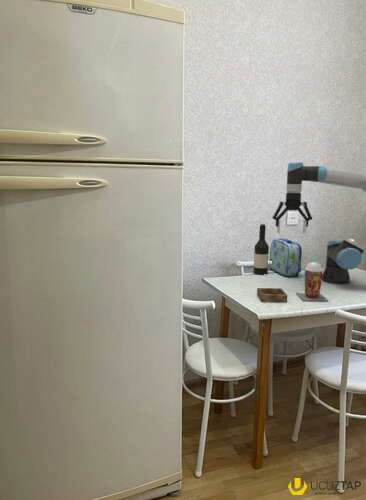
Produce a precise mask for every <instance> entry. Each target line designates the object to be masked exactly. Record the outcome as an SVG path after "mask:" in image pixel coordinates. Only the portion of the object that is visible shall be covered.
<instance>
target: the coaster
mask: <svg viewBox="0 0 366 500" xmlns="http://www.w3.org/2000/svg"><path fill="white" fill-rule="evenodd" d="M295 294H296V296H298V298H299V299H300V300H301V301H302V302H307V303H309V302H310V303H311V302H317V303H318V302H319V303H321V302H324V303H326V302H327V303H328V302H329V299H328V298H326V296H324V295H323V294H321V293H320V295H318V298H308V297H306V294H305V292H296V293H295Z"/></svg>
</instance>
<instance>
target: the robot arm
mask: <svg viewBox="0 0 366 500" xmlns="http://www.w3.org/2000/svg"><path fill="white" fill-rule="evenodd" d="M286 174H287V177H286V189H285V190H286V193H285V201H279V204H278V207H277V208H276V209H275V212H274V213H273V215H272V219H273V220H275V227H277V228H276V229H277V231H276V233H278V234H280V233H281V219H282V217H283V216H284V215H285V214H286V213H287V212H288V211H298V212H299V214H300V215H301V217H302V218H303V219H304V220H303V223H302V233H303V234H307V233H306V230H307V228H308V227H309V221H311V220H312V219H313V217H312V215H311V212H310V211H309V207H308V203H307V201H303V202H302V193H301V192H302V186H303V182H304V181H305V182H311V183H318V184H319V183H320V184H327V185H333V186H340V187H347V188H353V189H358V190H361V191H362V192H365V193H366V174H359V173H355V172H354V173H351V172H346V171H339V170H333V169H327V167H326V166H324V165H323V166H321V165H319V166H318V165H308V166H306V165H304V163H303V161H289V163H288V164H287V171H286ZM284 206H285V207H284ZM301 206H302V207H303V208H304V211H303V209H301ZM283 207H284V209H283V210H282V208H283ZM281 210H282V211H281ZM280 211H281V212H280ZM304 212H305V213H306V214H305V213H304ZM365 244H366V209H364V212H363V214H362V215H361V217H360V218H359V220H358V222H357V223H356V225H355V226H354V227H353V230H352V231H351V233H350V234H349V236H348V237H346V238H344V239H343V240H329V241H328V242H327V246H326V259H325V267H324V269H323V273H322V280H321V281H322V282H323V281H324V282H326V283H329V284H337V285H338V284H339V285H340V284H341V285H342V284H345V285H346V284H349V283H350V282H351V277H350V273H349V270H354V269H357V268H358V267H359V266H360V264H361V263H362V260H363V256H362V255H363V254H364V252H365V247H364V246H365Z"/></svg>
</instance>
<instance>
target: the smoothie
mask: <svg viewBox="0 0 366 500" xmlns="http://www.w3.org/2000/svg"><path fill="white" fill-rule="evenodd" d="M323 272H324V269H323V267H322V265H321V264H320V263H319V262H317V261H316V256H313V261H311V262H309V263H308V264H307V265H306V266H305V268H304V293H305V294H306V297H308V298H318V295H320V294H321V286H322V281H323V280H322V274H323Z"/></svg>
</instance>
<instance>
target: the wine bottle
mask: <svg viewBox="0 0 366 500" xmlns="http://www.w3.org/2000/svg"><path fill="white" fill-rule="evenodd" d="M266 227H267V225H266V224H265V223H260V225H259V235H258V237H259V239H258V241H257V242H256V244H255V245H254V255H253V256H254V257H253V274H255V275H258V276H265V275H264V274H266V275H268V269H269V255H270V247H269V244H268V243H267V241H266Z"/></svg>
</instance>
